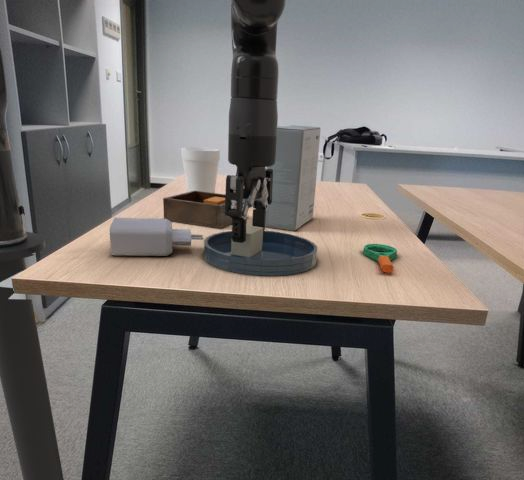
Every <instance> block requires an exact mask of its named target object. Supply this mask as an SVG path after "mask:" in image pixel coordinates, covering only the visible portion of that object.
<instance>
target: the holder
mask: <svg viewBox="0 0 524 480" xmlns="http://www.w3.org/2000/svg"><path fill="white" fill-rule="evenodd" d="M212 197H222V198H225V194H224V193H217V192H215V193H210V192H202V191H190V192H187V191H186V192H183V193H179V194H174V195H171V196H167V197H163V199H162V202H163V203H162V205H163V206H162V207H163V219H167V220H169V221H171V222H174V223H181V224H186V225H192V226H193V225H194V226H200V227H207V228H213V229H222V228H225V227H227V226H229V225H232V218H230V216H226V215H225V203H224V204H221V205H213V204H206V203H204V200H205V199H209V198H212ZM232 204H233V203H232V201H231V207H232ZM242 210H243V207H242Z"/></svg>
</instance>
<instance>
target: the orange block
mask: <svg viewBox="0 0 524 480" xmlns="http://www.w3.org/2000/svg"><path fill="white" fill-rule="evenodd" d="M204 203H206V204H213V205H221V204H224V203H225V198H222V197H212V198H209V199H205V200H204Z"/></svg>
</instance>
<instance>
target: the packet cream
mask: <svg viewBox="0 0 524 480" xmlns="http://www.w3.org/2000/svg"><path fill="white" fill-rule="evenodd" d="M262 241H263V227H256V226H252V225H248V224H246V241H245V242H243V243H238V242H233V241H232V245H231V254H232V255H238V256H244V257H251V256H253V255H255V254H256V253H258V252H260V251H261V250H262Z"/></svg>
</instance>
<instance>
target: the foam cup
mask: <svg viewBox="0 0 524 480" xmlns="http://www.w3.org/2000/svg"><path fill="white" fill-rule="evenodd" d="M180 153H181V156H180V157H181V160H182V166H183V173H184V180H185V188H186V192H190V191H202V192H210V193H216V185H217V177H218V169H219V162H220V160H221V159H220V158H221V150H220V149H218V148H211V147H199V146H198V147H197V146H184V147H181V150H180Z"/></svg>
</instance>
